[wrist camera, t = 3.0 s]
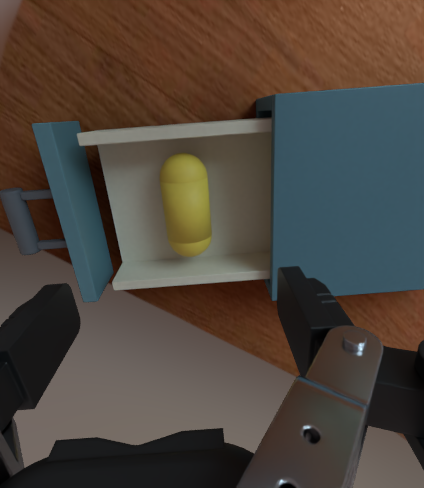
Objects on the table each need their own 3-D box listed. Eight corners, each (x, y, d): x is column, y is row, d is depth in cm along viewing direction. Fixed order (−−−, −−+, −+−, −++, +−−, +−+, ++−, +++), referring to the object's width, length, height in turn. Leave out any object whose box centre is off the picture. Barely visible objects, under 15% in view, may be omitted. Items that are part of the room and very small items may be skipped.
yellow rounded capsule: (212, 244, 26) (214, 262, 23) (172, 247, 26) (168, 266, 23) (205, 148, 23) (206, 154, 20) (159, 152, 23) (152, 158, 20)
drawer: (56, 277, 29) (29, 307, 24) (7, 126, 23) (-39, 129, 19) (293, 258, 29) (310, 285, 24) (300, 104, 23) (324, 101, 19)
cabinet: (257, 262, 30) (271, 301, 24) (255, 99, 24) (274, 94, 18) (452, 247, 30) (518, 282, 24) (500, 81, 24) (604, 69, 18)
